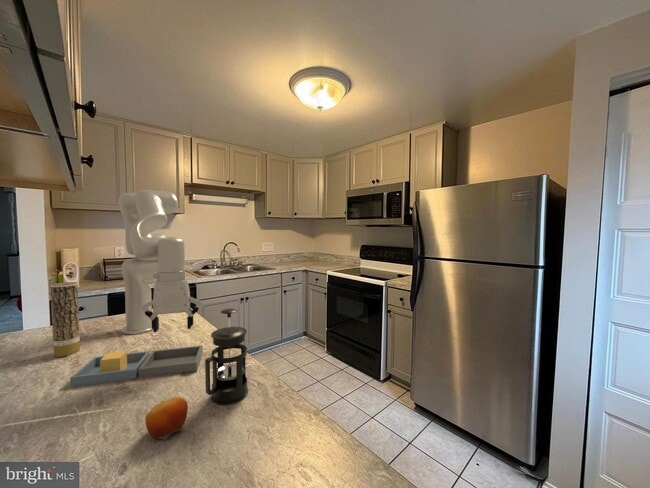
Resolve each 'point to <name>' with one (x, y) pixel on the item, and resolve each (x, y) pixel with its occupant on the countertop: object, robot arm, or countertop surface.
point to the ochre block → (113, 362)
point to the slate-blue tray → (94, 376)
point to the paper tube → (65, 318)
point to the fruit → (167, 417)
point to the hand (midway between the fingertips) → (173, 329)
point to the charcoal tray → (171, 361)
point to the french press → (227, 365)
